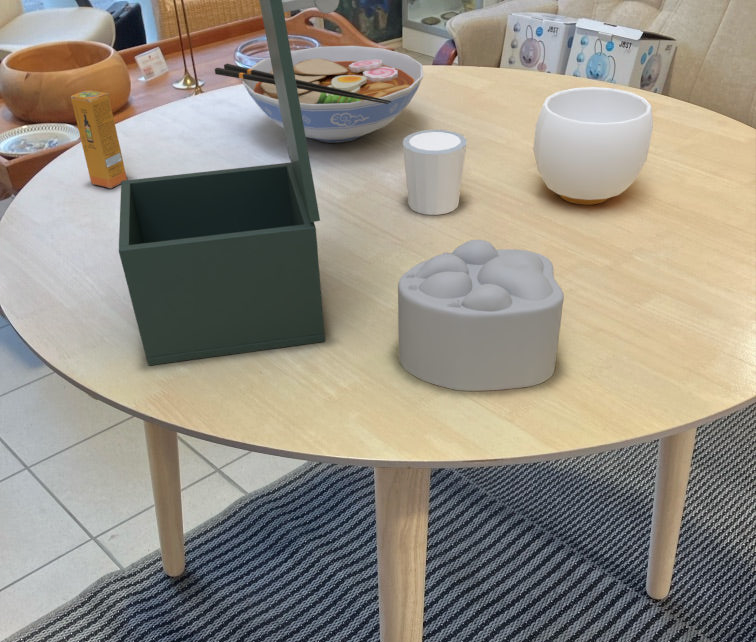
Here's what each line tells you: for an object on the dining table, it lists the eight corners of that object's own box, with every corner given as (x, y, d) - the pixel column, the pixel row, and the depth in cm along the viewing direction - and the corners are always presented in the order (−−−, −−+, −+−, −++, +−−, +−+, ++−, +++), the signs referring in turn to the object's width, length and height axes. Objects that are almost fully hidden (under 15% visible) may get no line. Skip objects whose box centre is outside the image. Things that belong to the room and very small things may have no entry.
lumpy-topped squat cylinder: (560, 386, 70) (574, 292, 64) (402, 394, 70) (401, 300, 64) (538, 319, 78) (548, 229, 72) (395, 326, 78) (393, 236, 72)
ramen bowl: (463, 121, 114) (465, 54, 108) (366, 184, 100) (363, 111, 94) (312, 91, 124) (308, 28, 118) (207, 144, 111) (196, 76, 105)
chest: (148, 366, 74) (118, 250, 67) (147, 288, 84) (121, 180, 76) (325, 341, 76) (315, 227, 69) (304, 269, 86) (294, 161, 78)
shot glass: (455, 220, 93) (457, 155, 88) (395, 213, 94) (394, 149, 90) (471, 194, 97) (474, 131, 92) (413, 187, 99) (413, 125, 94)
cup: (661, 208, 93) (680, 117, 87) (557, 225, 91) (568, 133, 84) (608, 165, 102) (622, 79, 95) (512, 180, 100) (519, 93, 93)
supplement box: (130, 179, 103) (110, 91, 96) (110, 190, 101) (88, 101, 94) (110, 174, 104) (88, 87, 98) (90, 184, 102) (66, 96, 95)
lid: (268, -8, 57) (344, -22, 57) (249, -51, 67) (314, -63, 67) (310, 222, 68) (373, 209, 69) (289, 157, 78) (344, 146, 78)
